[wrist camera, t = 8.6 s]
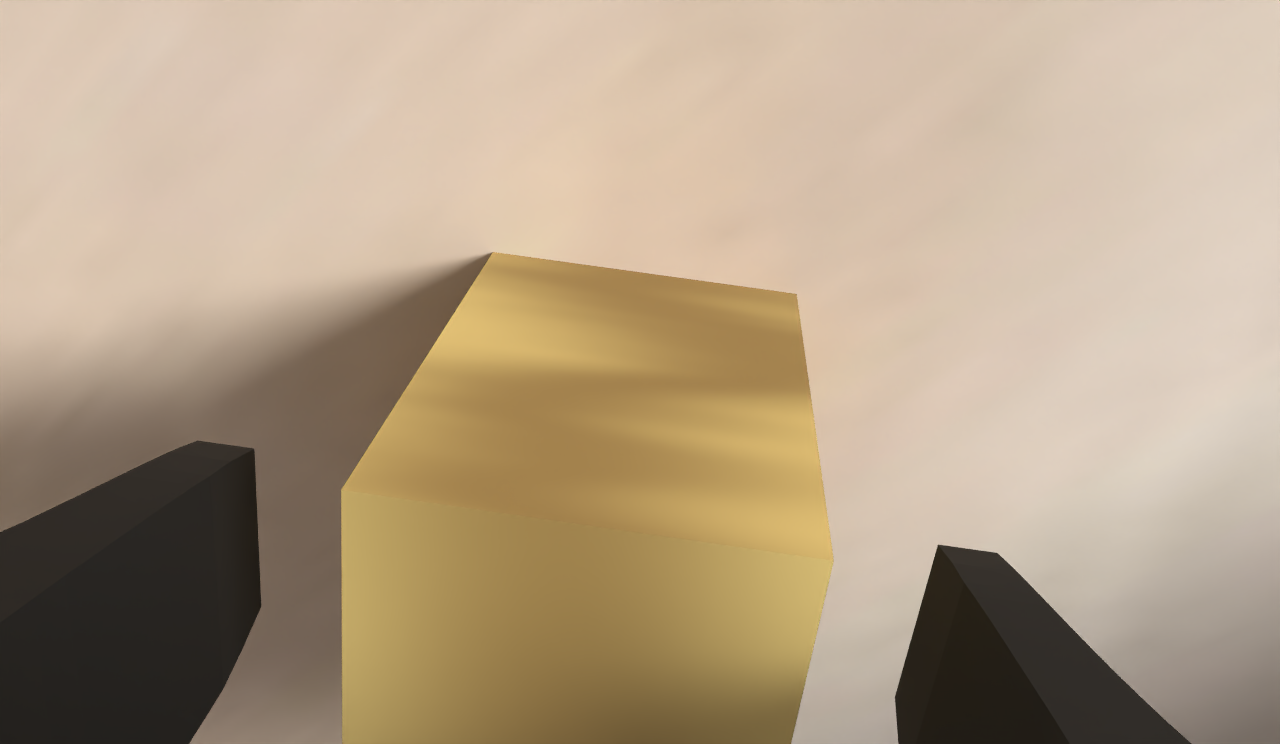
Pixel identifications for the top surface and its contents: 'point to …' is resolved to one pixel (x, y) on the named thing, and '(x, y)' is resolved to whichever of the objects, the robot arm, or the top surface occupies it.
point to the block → (589, 520)
